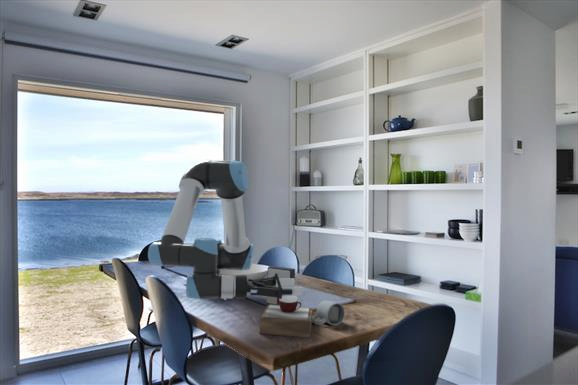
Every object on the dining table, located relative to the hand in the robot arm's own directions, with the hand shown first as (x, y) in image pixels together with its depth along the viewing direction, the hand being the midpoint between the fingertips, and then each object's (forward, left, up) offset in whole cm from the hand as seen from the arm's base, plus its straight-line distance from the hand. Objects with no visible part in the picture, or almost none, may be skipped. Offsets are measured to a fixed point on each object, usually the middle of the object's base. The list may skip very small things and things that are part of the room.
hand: (298, 286), depth 139 cm
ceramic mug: (-7, +10, -14) cm, 19 cm away
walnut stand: (+1, -3, -14) cm, 14 cm away
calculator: (-28, -9, -14) cm, 33 cm away
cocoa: (+1, -3, -8) cm, 9 cm away
